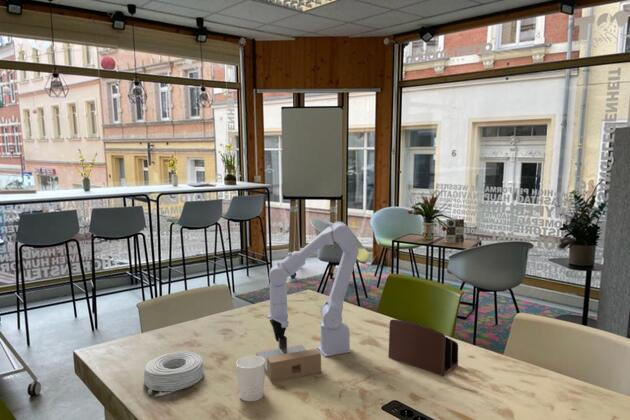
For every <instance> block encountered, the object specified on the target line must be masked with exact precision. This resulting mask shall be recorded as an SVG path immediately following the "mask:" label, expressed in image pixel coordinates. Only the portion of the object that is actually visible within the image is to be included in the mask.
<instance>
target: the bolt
mask: <svg viewBox="0 0 630 420" xmlns="http://www.w3.org/2000/svg"><path fill="white" fill-rule="evenodd" d="M278 340H279V342H278V349H279V353H280V354H281V355H282V354H288V353H290V352H289V351H288V349H287V347H288V338H287V336H286V335H284V336H283V337H278Z"/></svg>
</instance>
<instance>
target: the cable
mask: <svg viewBox="0 0 630 420" xmlns="http://www.w3.org/2000/svg"><path fill="white" fill-rule="evenodd" d="M204 373H205V368H204V361H203V358H202V357H201V355H199V354H197V353H195V352H192V351H185V350H183V351H182V350H181V351H173V352H169V353H165V354H162V355H159V356H157V357H155V358H154V359H153V358H152V359H151V360H150V361H149V362H147V364H146V365H145V366H144V371H143V376H142V379H143V382H144V385H146V387H147V388H148V389H147V394H148V395H149V396H150V395H151V396H152V395H153V391H157V392H158V393H156V394H155V395H154V398H158V397H163V396H165V395H166V396H167V395H169V394H172V393H175V392H177V391H181V390H184V389H186V388H189V387H192V386H194V385H195V384H196V383H199V381H201V379H203V376H204Z"/></svg>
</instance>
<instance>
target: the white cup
mask: <svg viewBox="0 0 630 420" xmlns="http://www.w3.org/2000/svg"><path fill="white" fill-rule="evenodd" d="M235 366H236V379H237V385H238V388H237V389H238V393H239V394H238V395H239V399H241V400H242V401H245V402H255V401H258V400H260V399H262V398H263V396H264V395H265V393H264V392H265V391H264V390H265V389H264V388H265V374H266V372H265V360H264V358H263V357H261V356H257V354H255V355H253V354H250V355H244V356H242V357H240V358H238V359H237V360H236V362H235Z"/></svg>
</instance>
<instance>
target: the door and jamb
mask: <svg viewBox="0 0 630 420" xmlns="http://www.w3.org/2000/svg"><path fill="white" fill-rule="evenodd" d="M287 349H288V351H289V352H290V353H288V354H282V355H281V354H280V353H279V348H274V349H271V350H265V351H258V352H256V354H255V355H256V356H261V357H263V358H264V360H265V374H266V376H267V377H268V379H269V381H270V382H271V383H273V382H277V381H283V380H288V379H294V378H299V377H303V376H309V375H313V374H319V373H322V353H321V352H320V350H319V349H318V348H311V349H306V347H304V346H303V344H299V345H293V346H287Z"/></svg>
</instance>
